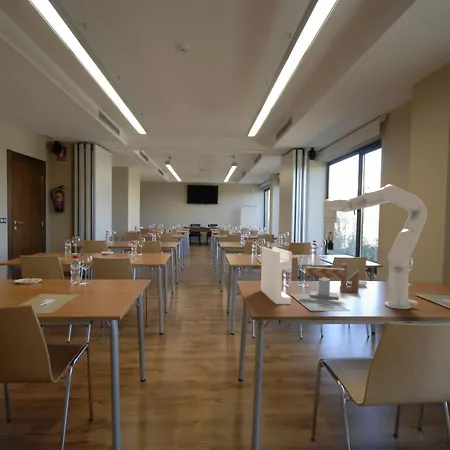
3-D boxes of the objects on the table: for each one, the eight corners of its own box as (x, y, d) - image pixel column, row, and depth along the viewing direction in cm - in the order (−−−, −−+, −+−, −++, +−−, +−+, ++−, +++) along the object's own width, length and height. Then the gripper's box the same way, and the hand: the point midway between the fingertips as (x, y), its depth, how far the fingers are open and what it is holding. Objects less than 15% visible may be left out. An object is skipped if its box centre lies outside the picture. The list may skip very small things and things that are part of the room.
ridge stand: (337, 295, 209) (337, 275, 208) (338, 299, 197) (339, 278, 197) (310, 293, 213) (310, 274, 212) (309, 297, 201) (310, 277, 201)
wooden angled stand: (358, 293, 216) (359, 264, 216) (340, 292, 218) (341, 264, 218) (357, 292, 220) (357, 264, 220) (339, 291, 222) (340, 263, 221)
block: (260, 290, 218) (261, 246, 218) (273, 290, 219) (274, 246, 219) (276, 304, 183) (277, 252, 183) (290, 303, 185) (292, 252, 184)
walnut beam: (343, 277, 204) (343, 268, 204) (344, 278, 200) (344, 269, 200) (305, 274, 209) (305, 266, 209) (305, 275, 205) (305, 267, 205)
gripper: (323, 220, 212) (323, 248, 212) (323, 220, 195) (324, 250, 195) (335, 220, 210) (335, 248, 210) (337, 220, 194) (337, 250, 194)
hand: (330, 249), depth 203 cm, fingers open, 9 cm apart
